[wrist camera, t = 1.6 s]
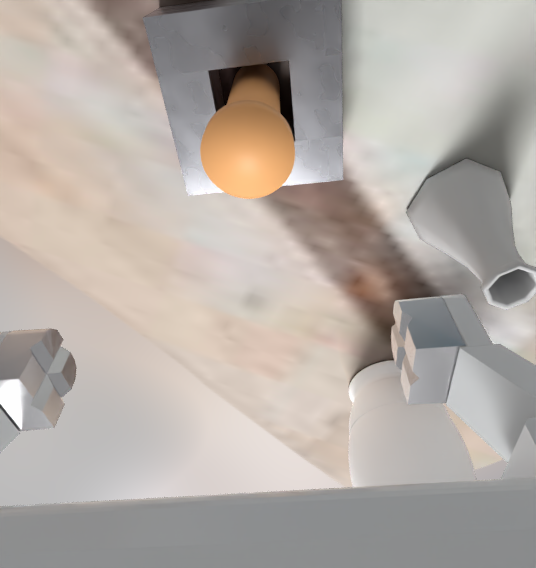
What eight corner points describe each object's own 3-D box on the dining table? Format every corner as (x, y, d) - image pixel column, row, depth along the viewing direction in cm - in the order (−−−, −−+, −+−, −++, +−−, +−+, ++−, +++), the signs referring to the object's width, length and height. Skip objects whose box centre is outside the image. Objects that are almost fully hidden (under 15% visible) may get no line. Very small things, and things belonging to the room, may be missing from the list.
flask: (388, 211, 33) (422, 295, 26) (467, 138, 30) (536, 210, 22) (447, 260, 36) (495, 349, 28) (526, 198, 33) (606, 280, 25)
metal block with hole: (332, -17, 24) (341, -10, 21) (336, 155, 31) (342, 179, 27) (159, 7, 25) (142, 17, 22) (196, 169, 31) (188, 195, 28)
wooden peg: (285, 47, 26) (290, 101, 18) (291, 117, 29) (298, 194, 20) (217, 56, 27) (190, 112, 18) (229, 124, 29) (210, 202, 21)
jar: (385, 424, 51) (418, 571, 39) (318, 390, 47) (332, 541, 35) (460, 378, 45) (524, 531, 34) (391, 335, 42) (436, 491, 30)
